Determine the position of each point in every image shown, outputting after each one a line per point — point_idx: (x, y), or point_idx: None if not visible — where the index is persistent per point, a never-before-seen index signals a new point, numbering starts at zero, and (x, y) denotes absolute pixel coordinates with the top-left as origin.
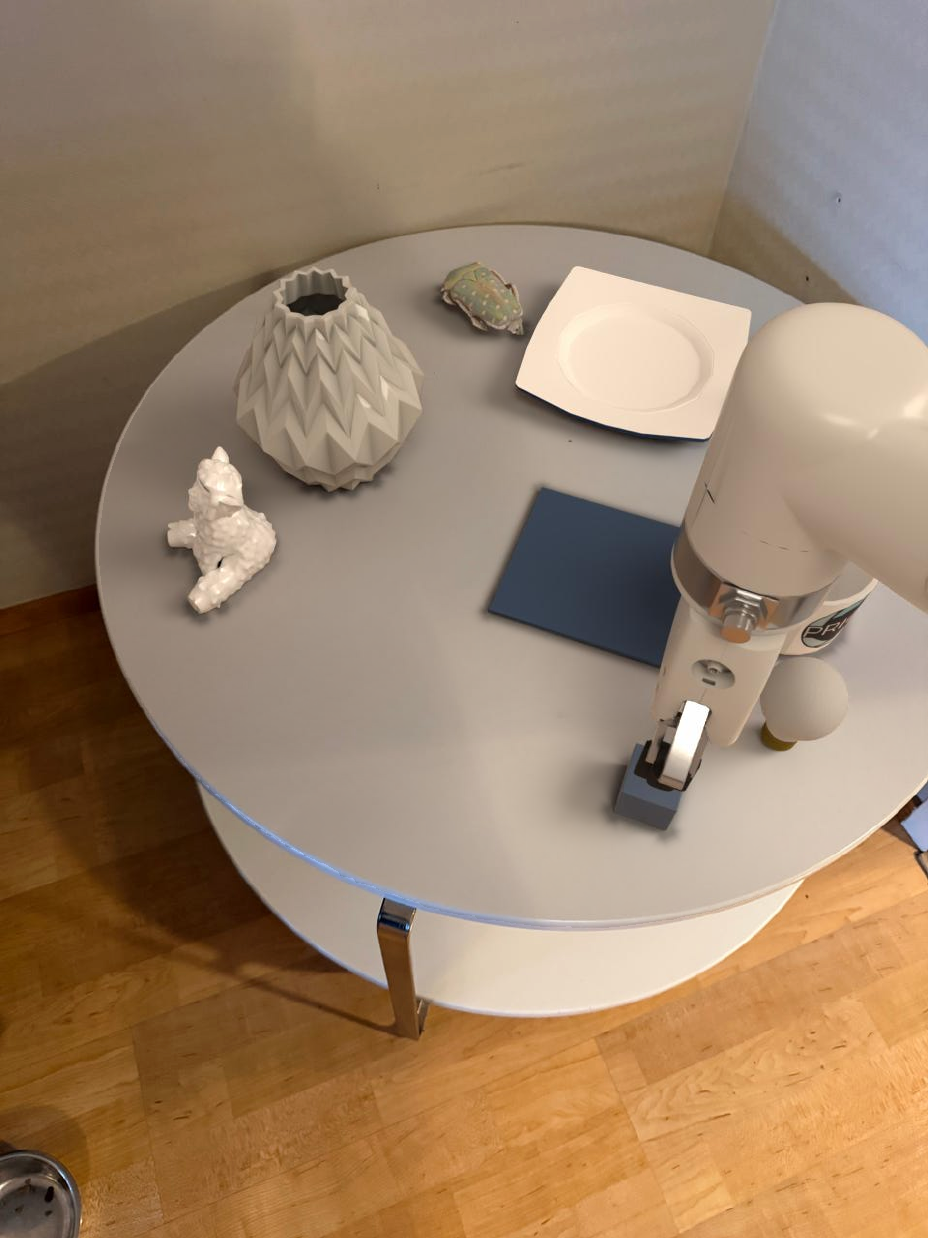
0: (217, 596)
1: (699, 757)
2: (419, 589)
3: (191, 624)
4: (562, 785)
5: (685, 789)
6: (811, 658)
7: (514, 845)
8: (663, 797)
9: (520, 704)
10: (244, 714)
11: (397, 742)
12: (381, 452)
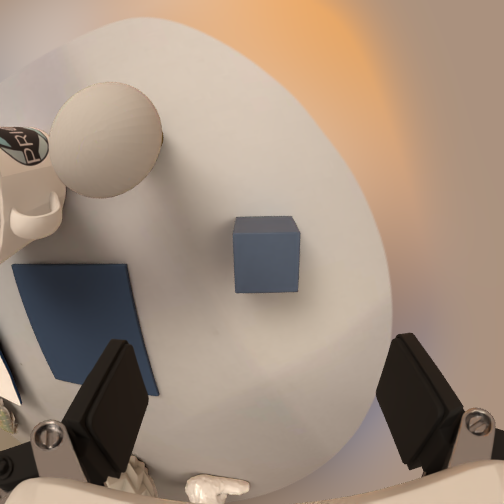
0: (239, 487)
1: (489, 452)
2: (170, 426)
3: (255, 481)
4: (280, 313)
5: (415, 338)
6: (50, 158)
7: (343, 327)
8: (289, 250)
9: (221, 360)
10: (296, 458)
11: (287, 410)
12: (119, 484)
